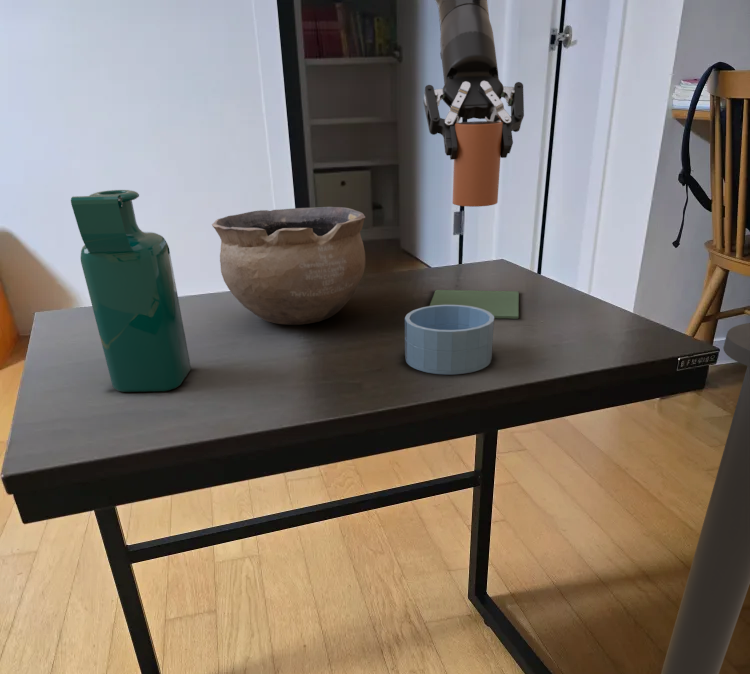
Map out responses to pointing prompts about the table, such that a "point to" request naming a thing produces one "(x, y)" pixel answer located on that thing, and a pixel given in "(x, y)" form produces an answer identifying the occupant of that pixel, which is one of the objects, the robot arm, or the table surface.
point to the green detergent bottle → (131, 294)
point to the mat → (481, 301)
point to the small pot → (477, 163)
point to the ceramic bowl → (292, 261)
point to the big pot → (449, 339)
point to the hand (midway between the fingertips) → (479, 154)
